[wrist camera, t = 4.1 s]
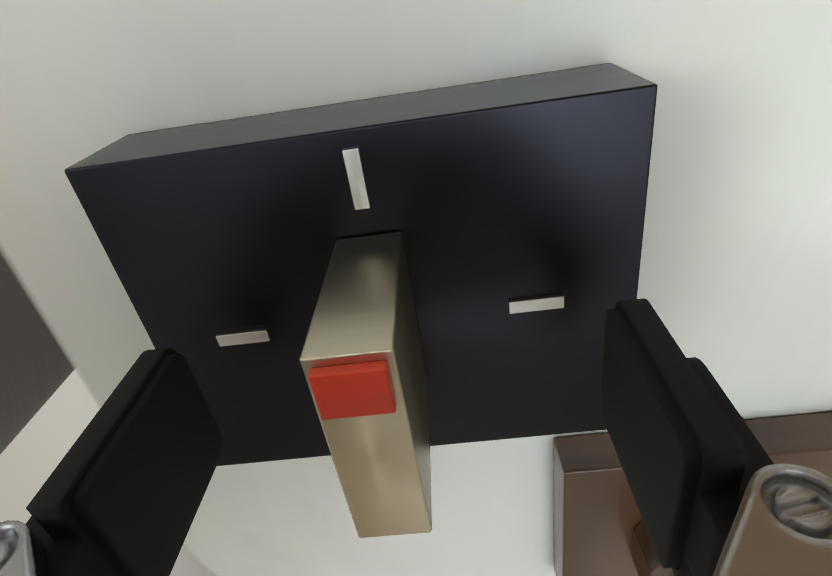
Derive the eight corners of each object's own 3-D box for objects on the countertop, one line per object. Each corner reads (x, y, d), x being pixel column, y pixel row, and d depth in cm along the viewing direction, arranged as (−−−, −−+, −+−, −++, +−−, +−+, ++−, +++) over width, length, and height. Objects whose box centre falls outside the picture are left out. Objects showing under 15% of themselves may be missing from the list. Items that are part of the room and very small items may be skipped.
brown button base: (553, 566, 25) (572, 647, 22) (553, 437, 20) (576, 517, 17) (814, 547, 24) (871, 629, 21) (877, 406, 19) (962, 486, 16)
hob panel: (242, 401, 19) (213, 470, 16) (127, 134, 14) (57, 172, 11) (595, 364, 18) (626, 432, 15) (611, 62, 13) (661, 85, 10)
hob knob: (428, 387, 15) (432, 544, 11) (373, 393, 15) (357, 549, 11) (401, 230, 12) (393, 358, 8) (335, 238, 12) (295, 368, 8)
